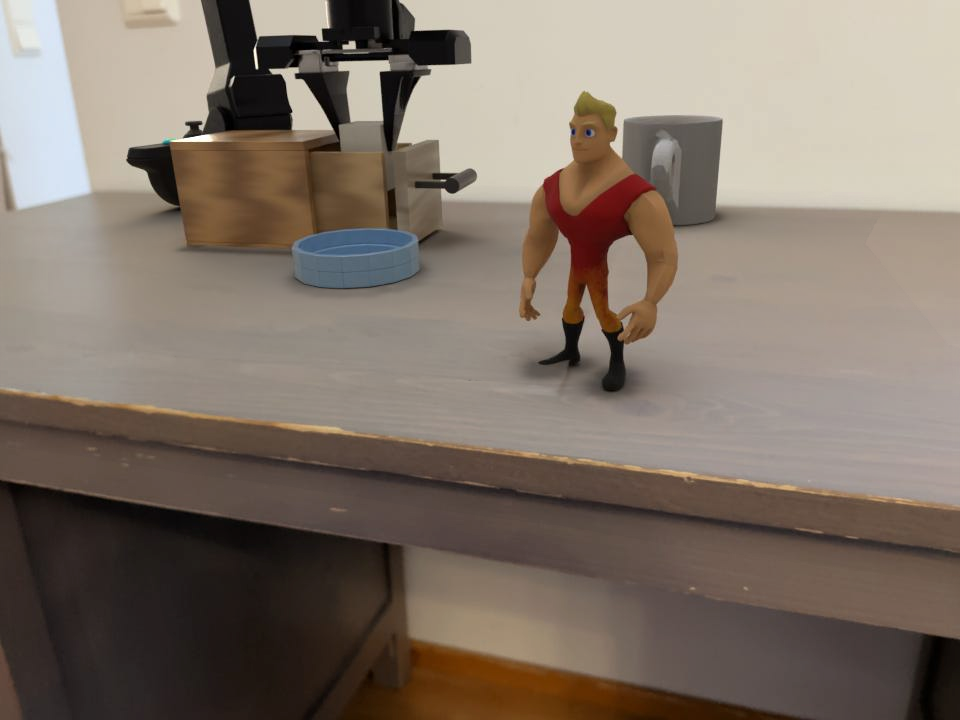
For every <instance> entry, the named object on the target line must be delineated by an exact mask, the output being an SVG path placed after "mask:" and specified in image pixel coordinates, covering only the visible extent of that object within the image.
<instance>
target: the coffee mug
mask: <svg viewBox="0 0 960 720" xmlns="http://www.w3.org/2000/svg"><path fill="white" fill-rule="evenodd" d="M723 123H724V119H723V117H720V116H712V115H698V114H697V115H696V114H695V115H694V114H663V115H645V116H643V115H642V116H633V117H627V118H624V119H623V127H622V131H623V132H622V153H621V158H622V159H623V160H624V161H625V163H626V164H627V165H628V167H629V168H630V169H631V170H632V171H633V172H634V173H635V174H638V175H639V176H640V177H642V178H643V179H644V180H646V181H647V182H649V183H650V184H651V185H653V186H654V187H656V190H657V192H658V193H659V194H660V195H661V196H662V197H663V199H664V202H665V204H666V206H667V208H668V211H669V214H670V217H671V221H672V224H673V226H691V225H699V224H703V223H708V222H711V221H713V220H714V219H715V217H716V209H717V196H718V185H719V184H718V183H719V172H720V171H719V170H720V160H721V149H722V138H723V137H722V135H723Z"/></svg>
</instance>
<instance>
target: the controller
mask: <svg viewBox="0 0 960 720" xmlns="http://www.w3.org/2000/svg"><path fill="white" fill-rule="evenodd" d="M184 125H185V126H186V127H189V130H188V131H186V133H184V135H183V137H182V138H177V139H176V138H168V139H164V140H163V141H162V142H161V143H160V142H159V143H154V144H147V145H138V146H131V147H128V150H127V155H126V159H125V161H126V163H127V164H128V165H129V166H131V167H132V168H136V169H140V170H142V171H145V172H146V175H147V178H148V180H149V183H150V185H151V187H152V189H153V191H154V192H155V193H156V195H157V196H158V197H159V198H161V200H163V201H165V202H166V203H168V204H169V205H173V206H176V207H180V202H179V196H178V190H177V184H176V178H175V172H174V166H173V160H172V154H171V149H170V143H169V142H170V141H174V140H180V139H186V138H191V137H197V136H201V134H202V131H203V129H200V126H202V125H203V121H202V120H188V121H185V122H184Z"/></svg>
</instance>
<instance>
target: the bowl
mask: <svg viewBox="0 0 960 720" xmlns="http://www.w3.org/2000/svg"><path fill="white" fill-rule="evenodd" d="M419 247H420V246H419V241H418V238H417V235H415V234H412V233H410V232H407V231H402V230H395V229H384V228H359V229H343V230H336V231H329V232H322V233H318V234H314V235H310V236H306V237H304V238H302V239H299V240H297V241H295V242H294V244H293V246H292V249H291V254H292V262H293V270H294V277H295V279H296V280H297V281H299V282H301V283H302V284H303V285H308V286H312V287H313V286H314V287H317V288H324V289H325V288H326V289H327V288H329V289H357V288H371V287H376V286H383V285H388V284H394V283H397V282H401V281H403V280H405V279H409V278H412V277H413V276H414V275H416V274H418V272H419V271H420V270H421V267H420V249H419Z"/></svg>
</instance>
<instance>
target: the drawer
mask: <svg viewBox="0 0 960 720" xmlns="http://www.w3.org/2000/svg"><path fill="white" fill-rule="evenodd" d="M308 152H309V161H310V171H311V180H312V190H313V199H314V209H315V218H316V228H317V234H318V233H322V232H329V231H336V230H343V229H359V228H384V229H395V230H402V231H407V232H410V233H412V234H415V235H417V238H418V242H420V241H422V240H423V239H424V238H427V236H429V235H430V234H432V233H433V232H436V230H438V229H439V228H441V227H442V226H443V225H444V224H443V204H442V202H443V200H442V199H443V198H442V189H443V190H445V191H446V193H448V194H451V195H454V194H457V193H458V192H460V191H462V190H463V189H465V188H467V187H468V186H470V185H472V184H474V183H475V182H476V181H477V179H478V173H477V172H476V170H475V169H473V168H470V167H469V168H466V169H464V170H462V171H460V172H441V159H440V157H441V156H440V140H439V139H425V140H422V141H420V142H417V143H414V144H413V143H412V142H397V150H395V151H393V152H392V153H393V168H394V183H395V188H393V189H391V190H389V191H387V180H386V166H385V152H341V144H340V143H332V144H328V145H324V146H320V147H316V148H313V149H309V150H308Z"/></svg>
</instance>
